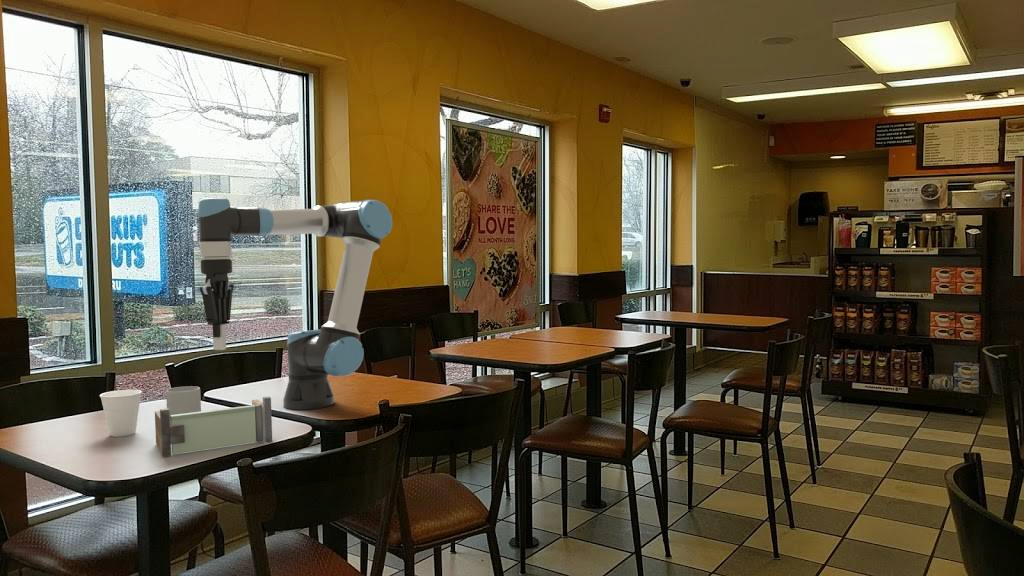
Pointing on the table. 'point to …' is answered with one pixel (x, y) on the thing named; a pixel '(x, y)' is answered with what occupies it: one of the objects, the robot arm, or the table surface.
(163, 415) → the post
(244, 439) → the gate
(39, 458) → the table surface
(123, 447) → the table surface
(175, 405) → the mug
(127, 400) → the cup
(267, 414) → the hinge post
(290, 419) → the table surface
